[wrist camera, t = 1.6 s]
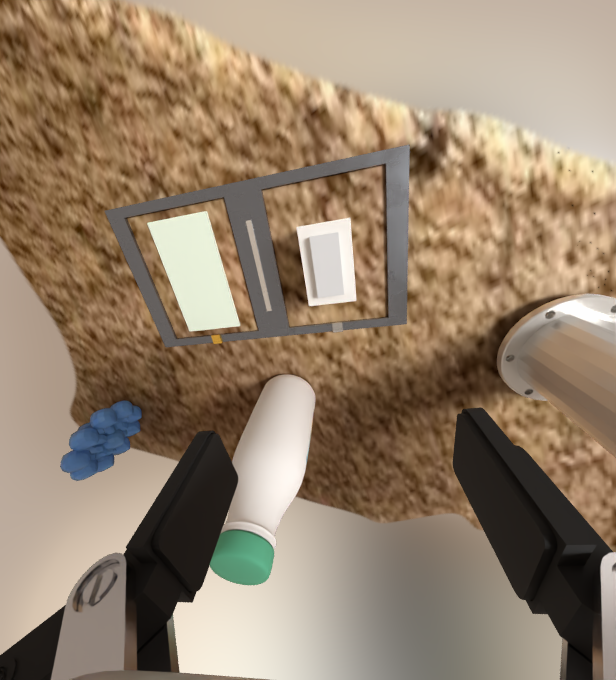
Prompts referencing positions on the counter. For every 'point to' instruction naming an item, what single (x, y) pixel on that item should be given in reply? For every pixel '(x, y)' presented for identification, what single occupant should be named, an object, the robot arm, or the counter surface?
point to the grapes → (101, 440)
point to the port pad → (195, 271)
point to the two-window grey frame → (259, 250)
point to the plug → (328, 262)
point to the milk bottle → (265, 479)
